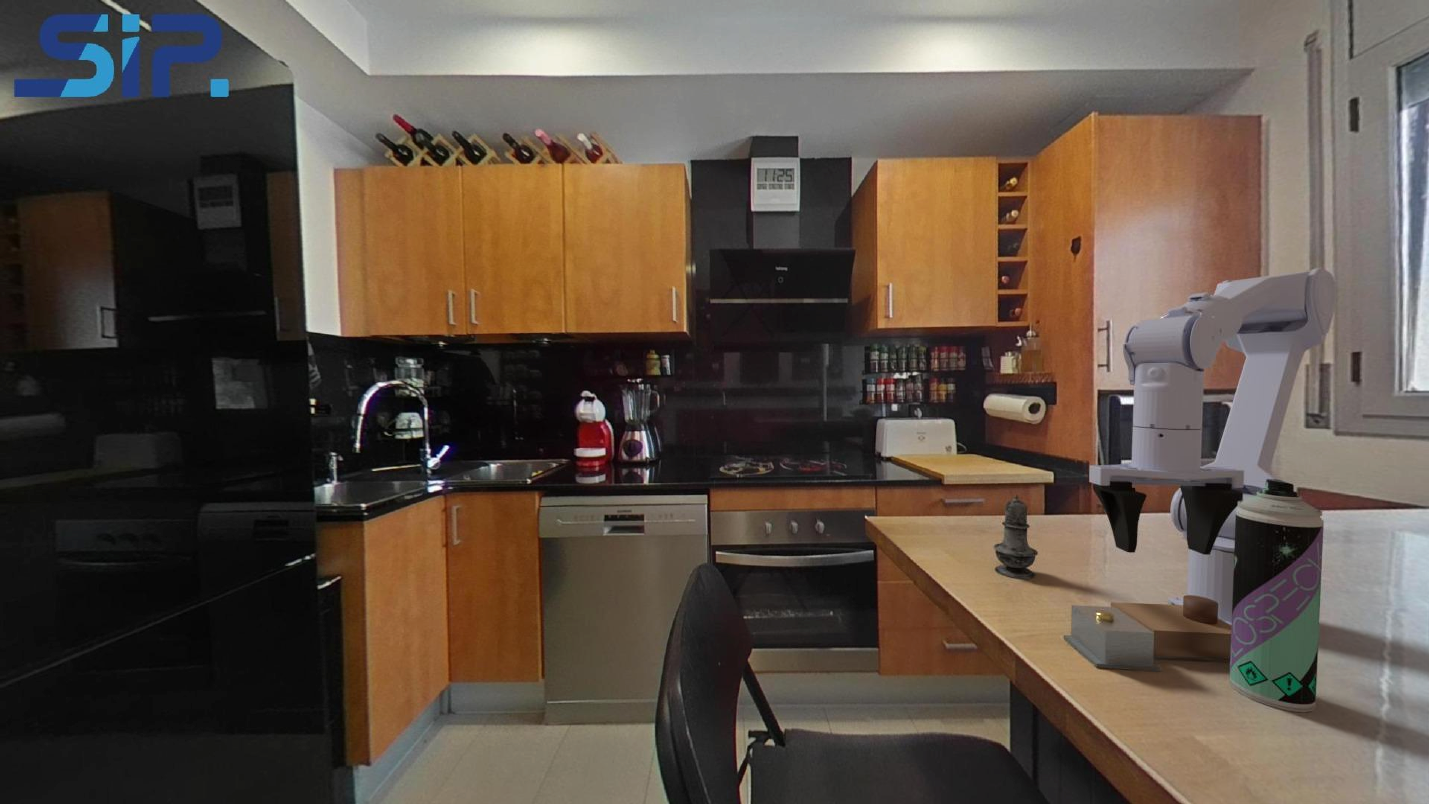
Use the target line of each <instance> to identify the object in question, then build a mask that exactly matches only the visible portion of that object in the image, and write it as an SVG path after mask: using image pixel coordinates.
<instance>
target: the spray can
mask: <svg viewBox="0 0 1429 804" xmlns="http://www.w3.org/2000/svg"><path fill="white" fill-rule="evenodd" d="M1265 486H1266V488H1263V489H1262V491H1258V492H1257V496H1254V497H1251V498H1248V499H1246V500H1242V501H1238V506H1239V508H1237V509H1236V519H1235V546H1234V572H1233V598H1232V625H1231V651H1230V662H1229V684H1230V686H1231V687H1232V688H1233V690H1235V691H1236V692H1238V694H1241V695H1243V696H1245V697H1246V698H1248V699H1251V700H1253V701H1256V702H1257V703H1260V704H1263V705H1265V706H1269V707H1272V708H1276V709H1280V710H1284V711H1290V712H1297V713H1308V711H1310V712H1312V711H1314V710H1315V709H1314V708H1316V703H1317V702H1316V700H1317V682H1318V681H1317V678H1318V658H1319V657H1318V656H1319V638H1320V637H1319V635H1320V634H1319V633H1320V618H1321V617H1320V615H1321V613H1320V610H1321V594H1322V593H1321V589H1322V568H1323V566H1322V564H1323V550H1324V549H1323V546H1324V527H1325V526H1324V524H1325V523H1324V522H1325V521H1324V520H1323V519H1322V518H1321V517H1322V516H1323V511H1322V510H1320V509H1317V508H1315V507H1313V506H1312V505H1310V504H1308V503H1307V502H1305V501H1303V500H1302V499H1303V497H1302V495H1299V494H1298V492H1297V491H1295V490H1294V489H1295V486H1294V484H1293V483H1291V482H1290V483H1289V482H1287V481H1284V480H1281V479H1279V480H1276V479H1267V480H1266V483H1265Z"/></svg>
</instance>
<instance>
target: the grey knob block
mask: <svg viewBox="0 0 1429 804" xmlns="http://www.w3.org/2000/svg"><path fill="white" fill-rule="evenodd" d="M1070 621H1071V623H1070V624H1071V625H1070V635H1071V636H1072V637H1073V638H1074V639H1075V640H1076V641H1078V642H1079V643H1080V644H1081V645H1082V646H1083V647H1085V648H1086V649H1087V650H1088V651H1089V652H1091V653H1092V654H1093V655H1094V656H1095V657H1096V658H1098V659H1099V660H1100V661H1101V662H1102V663H1103V664H1105V665H1122V666H1141V667H1153V662H1154V658H1153V648H1154V633H1153V632H1152V631H1150V630H1149V629H1147V628H1146V627H1144V626H1143V625H1141V624H1140V623H1138V622H1137V621H1135V620H1134V619H1132V618H1131V617H1129V616H1128V615H1126V614H1125V613H1123V612H1121V611H1120V610H1118V609H1117V608H1115V607H1111V606H1099V605H1098V606H1097V605H1095V606H1094V605H1077V604H1076V605H1074V604H1073V605H1071V619H1070Z"/></svg>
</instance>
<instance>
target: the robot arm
mask: <svg viewBox="0 0 1429 804" xmlns="http://www.w3.org/2000/svg"><path fill="white" fill-rule="evenodd" d="M1336 306H1337V287H1336V281H1335V278H1334V275H1333V274H1332V273H1331V272H1330V271H1328V270H1327V269H1326V268H1324V267H1315V268H1313V269H1311V270H1305V271H1298V272H1297V271H1296V272H1295V271H1294V272H1288V273H1281V274H1274V275H1265V276H1259V277H1252V278H1245V279H1244V278H1242V279H1236V280H1235V279H1226V280H1224V281H1222V282H1219V283H1217V285H1216V288H1215V290H1214V293H1213V294H1211V293H1210V292H1201V293H1192V294H1191V295H1189V296H1187V302H1186V303H1183V304H1182V305H1181V306H1180V305H1179V306H1176V307H1175V306H1173V307H1171V308H1170V309H1168V310H1167V313H1166V314H1165V315H1163V316H1161V317H1160V318H1153V319H1151V318H1149V319H1142V320H1139V322H1137V323H1136V325H1135V324H1134V325H1132V326H1131V327H1130V328H1129V329H1128V330H1127V333H1126V335H1125V337H1124V343H1123V344H1122V352H1123V353H1122V354H1123V358H1124V362H1125V363H1126V365H1127V370H1128V371H1127V372H1128V373H1127V374H1128V375H1127V377H1128V378H1127V380H1128V381H1129V385H1130V386H1133V405H1132V406H1133V407H1132V408H1133V411H1132V439H1131V440H1132V442H1131V462H1130V463H1125V464H1124V463H1123V464H1121V463H1120V464H1106V465H1105V464H1104V465H1103V464H1102V465H1101V464H1100V465H1093V464H1092V465H1089V477H1088V479H1089V480H1088V481H1089V483H1091V484H1092V491H1093V492H1094V493H1095V495H1096V497H1097V499H1098V500H1099V502H1100V503H1101V506H1102V507H1103V510H1104V511H1105V514H1106V516H1107V519H1108V521H1109V526H1110V527H1111V528H1110V529H1111V531H1112V536H1113V538H1114V545H1115V548H1117V549H1120V550H1122V551H1123V552H1126V553H1129V554H1131V553H1132V554H1134V553H1136V550H1137V546H1138V533H1139V531H1138V529H1139V521H1140V516H1141V513H1142V509H1143V506H1144V503H1145V501H1146V498H1147V494H1145V492H1140V491H1136V487H1133V486H1136V485H1137V486H1175V487H1176V486H1177V487H1178V486H1179V488H1178V489H1177V490H1176V491H1175V493H1174V495H1173V496H1172V499H1171V504H1170V509H1169V510H1170V513H1169V514H1170V518H1171V522H1172V523H1173V525H1174V527H1175V528H1176V530H1178V532H1180V533H1182V539H1183V540H1186V542H1187V548H1188V556H1187V557H1188V558H1187V559H1188V561H1187V585H1186V587H1187V588H1186V589H1187V592H1186V595H1193V596H1200V597H1204V598H1208V599H1211V600H1213V601H1215V602H1217V603H1218V618H1219V619H1220V620H1222V621H1224V622H1226V623H1228V624H1230V625H1232V598H1233V572H1234V546H1235V519H1236V509H1237V508H1239V506H1238V501H1242V500H1246V499H1248V498H1251V497H1254V496H1257V492H1258V491H1262V489H1263V488H1266V486H1265V483H1266V480H1267V479H1276V480H1280V479H1279V478H1278V477H1276V476H1275V475H1274V474H1272V473H1270V470H1271V467H1272V463H1273V459H1274V457H1275V452H1276V449H1277V445H1278V442H1279V438H1280V435H1281V431H1282V428H1283V424H1284V421H1285V417H1286V414H1287V410H1288V407H1289V402H1290V399H1291V396H1292V392H1293V388H1294V385H1295V382H1296V379H1297V374H1298V371H1299V369H1300V366H1301V364H1302V360H1303V358H1304V356H1305V353H1306V352H1307V351H1308V350H1311V349H1312V348H1314V347H1317V346H1319V345H1322V344H1324V343H1325V341H1326V337H1327V334H1328V333H1329V332H1330V328H1331V324H1332V322H1333V321H1332V320H1333V317H1334V314H1335V311H1336ZM1223 343H1225V344H1226V347H1228V348H1229V349H1232V350H1234V351H1237V352H1240V353H1243V354H1244V356H1245V361H1244V364H1243V366H1242V370H1241V373H1240V377H1239V380H1238V384H1237V388H1236V390H1235V393H1234V397H1233V401H1232V404H1231V407H1230V411H1229V414H1228V417H1227V420H1226V423H1225V426H1224V430H1223V434H1222V437H1221V440H1220V442H1219V447H1218V450H1217V452H1216V453H1217V454H1216V456H1215V459H1214V461H1213V462H1211V463H1208V464H1205V465H1203V466H1201V465H1202V464H1201V462H1202V441H1203V437H1202V436H1203V411H1204V410H1203V408H1204V388H1205V387H1204V385H1205V384H1204V383H1205V370H1207V369H1211V367H1212V366H1213V365H1214V362H1215V361H1216V358H1217V355H1218V352H1219V351H1220V350H1221V349H1222V346H1223ZM1167 599H1168V602H1170V603H1171V604H1172V605H1183V597H1175V596H1173V597H1172V596H1171V597H1168V598H1167Z"/></svg>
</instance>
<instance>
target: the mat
mask: <svg viewBox="0 0 1429 804" xmlns="http://www.w3.org/2000/svg"><path fill="white" fill-rule="evenodd" d="M1063 639H1064V640H1065V641H1066V642H1067V643H1068V644H1069V645H1070V644H1071V645H1072V646H1071V645H1070V646H1071V647H1073V648H1074V649H1075V648H1076V649H1075V650H1076V651H1077V650H1078V651H1077V652H1078V653H1079V652H1080V653H1079V654H1081V656H1083V657H1084V659H1086V658H1087V659H1088V660H1089V661H1088V660H1087V659H1086V660H1087V661H1088V662H1090V663H1091V662H1092V663H1091V664H1092V665H1093V664H1094V665H1095V666H1094V665H1093V666H1094V667H1095V668H1096V667H1098V669H1118V670H1119V669H1120V670H1133V671H1134V670H1135V671H1141V670H1142V671H1154V672H1158V671H1159V672H1161V671H1162V669H1161V668H1162V667H1161V666H1160V665H1158V664H1157V663H1156V662H1155V661H1153V667H1141V666H1122V665H1105V664H1103V663H1102V662H1101V661H1100V660H1099V659H1098V658H1096V657H1095V656H1094V655H1093V654H1092V653H1091V652H1089V651H1088V650H1087V649H1086V648H1085V647H1083V646H1082V645H1081V644H1080V643H1079V642H1078V641H1076V640H1075V639H1074V638H1073V637H1072V636H1071V634H1070V635H1069V634H1068V635H1067V634H1063Z"/></svg>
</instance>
